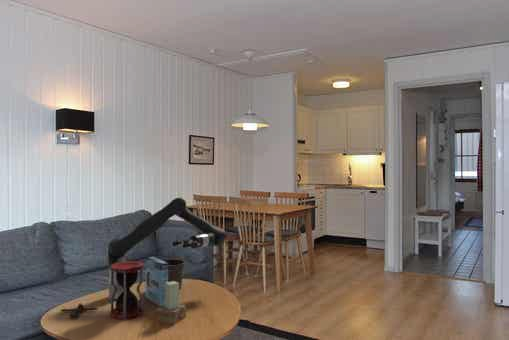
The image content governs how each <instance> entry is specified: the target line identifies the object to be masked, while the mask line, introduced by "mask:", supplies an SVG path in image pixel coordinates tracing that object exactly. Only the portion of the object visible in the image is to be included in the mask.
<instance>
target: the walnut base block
mask: <svg viewBox="0 0 509 340" xmlns="http://www.w3.org/2000/svg"><path fill="white" fill-rule="evenodd" d="M156 313H157V316H156V317H157V318H156V319H157V320H156V321H157V322H158V321H159V322H160V323H164V324H172V325H176V324H178V323H179V322H181V321H182V320H184V319H185V318H186V317H187V306H186V305H183V304H179V308H175V309H170V310H169V309H167V308H166V307H165V305H164V306H161V307H159V308H158V309H156Z"/></svg>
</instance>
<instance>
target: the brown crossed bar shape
mask: <svg viewBox="0 0 509 340" xmlns="http://www.w3.org/2000/svg"><path fill="white" fill-rule="evenodd" d="M97 310H98V308H96V306H95V307H91V308H87V306H84V305H83V304H82V303H81V302H80V303H79V304H77V307H76V308H71V309H70V308H69V309H67V308H63V309H60V311H61V312H73V313H70V314H69V318H70V320H73V319H74V320H77V319H78V317H79V315H80V314H81V313H82V312H84V311H85V312H86V311H97Z"/></svg>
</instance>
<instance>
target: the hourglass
mask: <svg viewBox="0 0 509 340" xmlns="http://www.w3.org/2000/svg"><path fill="white" fill-rule="evenodd" d="M143 268H144V263H142V262H140V261H126V262H119V263H115V264H112V265H111V266H110V270H111V284H112V286H113V287H114V293H113V294H112V296H111V300H110V312H109V316H110V317H111V318H112V319H115V320H131V319H135V318H137V317H140V316H141V315H143V313H144V308H143V294H142V292H141V290H140V288H141V285H142V284H143V280H144V279H143V277H144V275H143V273H144V272H143V271H144V269H143ZM114 271H115V272H116V280H117V282H118V283H119V285H121V286H122V287H123V288H124V291H123V292H122V293H121V294H120V295H119V297H118V298H117V300H115V301H116V302H115V308H114V300H113V297H114V295H115V294H116V292H117V287H116V286H115V285H114V282H113V275H114ZM139 271H140V272H139ZM139 275H140V276H139ZM138 277H139V278H140V279H139V280H140V281H139V283H138V284H137V285H136V291H137V293H138V294H139V295H138V296H139V302H138V297H137V296H136V295H135V293H133V291H132V290H131V288H132V287H133V285H134V284H135V283H136V282H137V280H138ZM138 303H139V304H138Z"/></svg>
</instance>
